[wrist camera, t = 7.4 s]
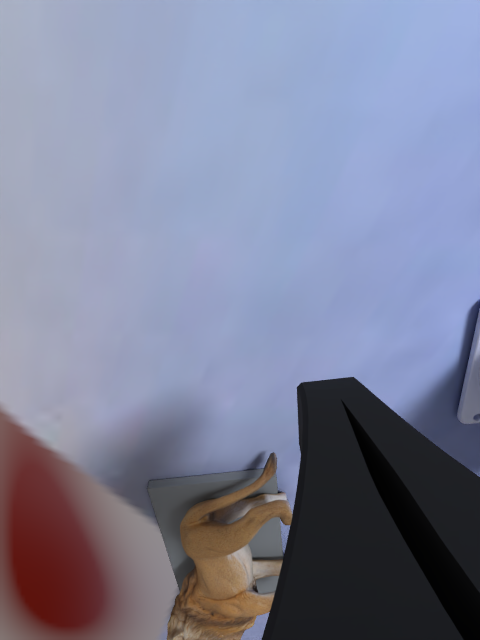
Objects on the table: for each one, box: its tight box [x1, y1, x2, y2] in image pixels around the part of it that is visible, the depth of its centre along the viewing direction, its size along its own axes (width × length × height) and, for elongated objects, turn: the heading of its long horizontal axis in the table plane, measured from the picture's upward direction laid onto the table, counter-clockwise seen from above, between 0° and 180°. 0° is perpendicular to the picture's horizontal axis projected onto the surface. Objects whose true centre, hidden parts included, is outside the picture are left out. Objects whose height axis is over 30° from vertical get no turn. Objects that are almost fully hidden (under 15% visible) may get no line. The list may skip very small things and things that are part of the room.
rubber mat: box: [147, 469, 283, 593], centre depth 25 cm, size 8×13×1 cm, turn 6°
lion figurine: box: [167, 453, 292, 640], centre depth 23 cm, size 15×5×9 cm
